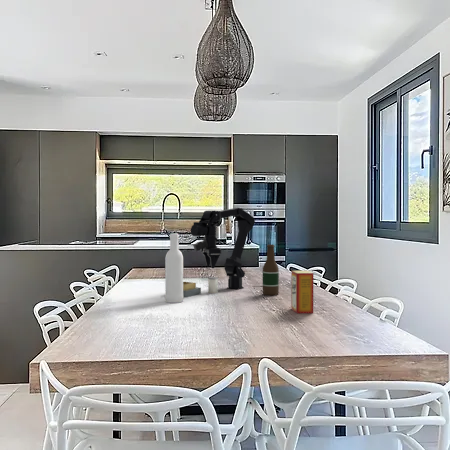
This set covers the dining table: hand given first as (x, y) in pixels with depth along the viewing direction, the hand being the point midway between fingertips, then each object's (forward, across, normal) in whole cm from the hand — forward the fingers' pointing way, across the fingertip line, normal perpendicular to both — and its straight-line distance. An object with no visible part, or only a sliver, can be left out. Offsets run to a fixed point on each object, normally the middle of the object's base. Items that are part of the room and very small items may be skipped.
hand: (210, 267), depth 240 cm
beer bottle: (+12, +15, +26) cm, 33 cm away
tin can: (+12, +3, +1) cm, 13 cm away
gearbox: (+12, +3, -15) cm, 20 cm away
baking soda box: (+12, +56, +23) cm, 62 cm away
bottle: (+13, +21, -22) cm, 33 cm away
